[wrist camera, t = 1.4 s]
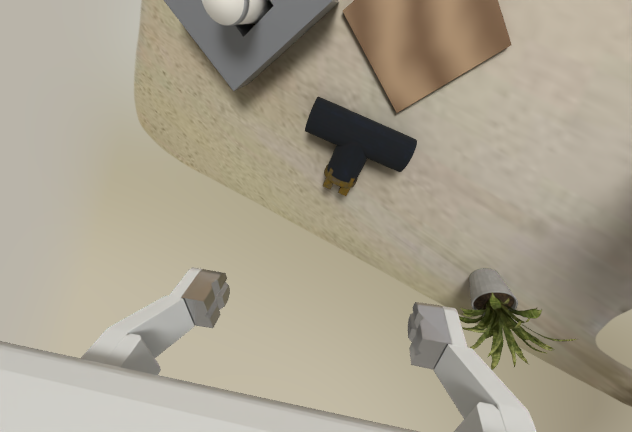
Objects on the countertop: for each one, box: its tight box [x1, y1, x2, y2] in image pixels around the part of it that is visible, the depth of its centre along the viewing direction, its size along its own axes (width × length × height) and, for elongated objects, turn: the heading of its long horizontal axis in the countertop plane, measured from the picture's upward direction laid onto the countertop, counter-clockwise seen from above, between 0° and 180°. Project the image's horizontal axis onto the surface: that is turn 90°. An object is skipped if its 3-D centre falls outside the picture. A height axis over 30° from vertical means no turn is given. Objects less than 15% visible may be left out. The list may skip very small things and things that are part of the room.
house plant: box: [459, 268, 576, 370], centre depth 45 cm, size 14×14×16 cm
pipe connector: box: [305, 97, 417, 196], centre depth 41 cm, size 12×5×15 cm
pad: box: [343, 0, 511, 113], centre depth 32 cm, size 14×14×1 cm
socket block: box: [164, 0, 339, 91], centre depth 32 cm, size 16×12×5 cm
